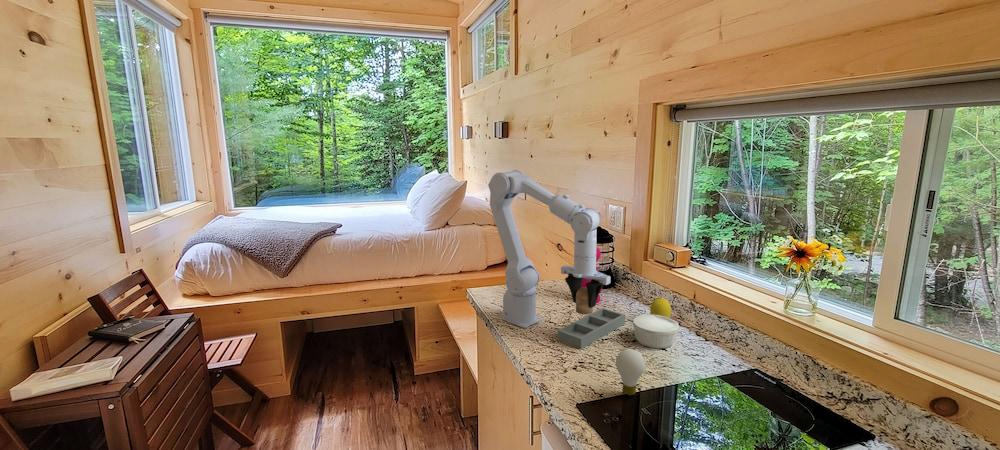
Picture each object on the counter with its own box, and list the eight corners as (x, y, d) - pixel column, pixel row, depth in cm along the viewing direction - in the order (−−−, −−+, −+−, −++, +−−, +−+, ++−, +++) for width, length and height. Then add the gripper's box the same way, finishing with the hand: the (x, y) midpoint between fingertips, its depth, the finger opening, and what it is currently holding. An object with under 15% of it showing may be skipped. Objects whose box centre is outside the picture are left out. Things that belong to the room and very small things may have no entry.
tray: (557, 340, 120) (557, 330, 119) (602, 316, 135) (602, 307, 134) (580, 349, 115) (581, 339, 114) (624, 323, 129) (625, 314, 129)
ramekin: (684, 340, 119) (685, 321, 118) (666, 355, 111) (667, 335, 110) (644, 328, 126) (644, 310, 125) (624, 342, 118) (625, 323, 117)
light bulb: (610, 387, 97) (612, 344, 95) (637, 386, 98) (639, 343, 96) (620, 403, 91) (621, 358, 89) (648, 401, 92) (650, 356, 90)
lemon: (671, 328, 126) (673, 301, 124) (650, 327, 127) (652, 300, 125) (668, 320, 131) (670, 294, 129) (648, 319, 132) (649, 293, 131)
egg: (572, 311, 121) (572, 287, 120) (582, 306, 124) (582, 283, 123) (586, 315, 118) (586, 291, 117) (595, 311, 121) (596, 287, 120)
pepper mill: (604, 299, 149) (606, 240, 145) (597, 306, 143) (598, 244, 139) (584, 295, 153) (585, 237, 149) (575, 302, 147) (576, 242, 143)
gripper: (553, 253, 121) (553, 301, 123) (599, 263, 110) (598, 315, 113) (570, 248, 125) (569, 294, 128) (615, 257, 115) (614, 308, 118)
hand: (584, 304), depth 121 cm, fingers closed on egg, 4 cm apart
